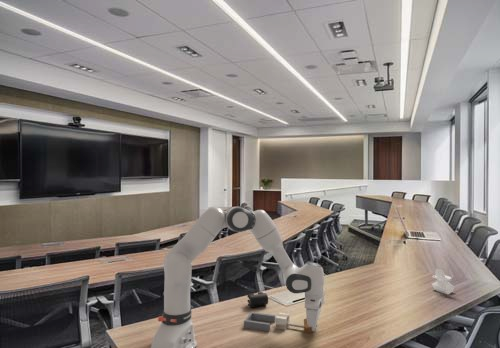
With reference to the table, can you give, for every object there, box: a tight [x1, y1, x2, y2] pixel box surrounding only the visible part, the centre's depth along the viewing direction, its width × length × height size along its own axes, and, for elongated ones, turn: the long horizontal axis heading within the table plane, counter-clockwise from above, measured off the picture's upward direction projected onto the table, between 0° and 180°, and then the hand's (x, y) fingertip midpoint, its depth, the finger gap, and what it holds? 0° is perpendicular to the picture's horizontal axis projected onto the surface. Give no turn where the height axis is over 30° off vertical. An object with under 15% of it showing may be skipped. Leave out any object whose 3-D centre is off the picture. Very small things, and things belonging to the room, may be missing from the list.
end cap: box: [246, 291, 269, 309], centre depth 183 cm, size 10×7×7 cm
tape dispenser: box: [431, 268, 456, 295], centre depth 204 cm, size 8×14×14 cm, turn 21°
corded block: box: [275, 312, 314, 334], centre depth 156 cm, size 6×17×5 cm, turn 66°
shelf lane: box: [243, 311, 276, 332], centre depth 160 cm, size 11×12×3 cm
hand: (314, 328), depth 152 cm, fingers open, 3 cm apart
